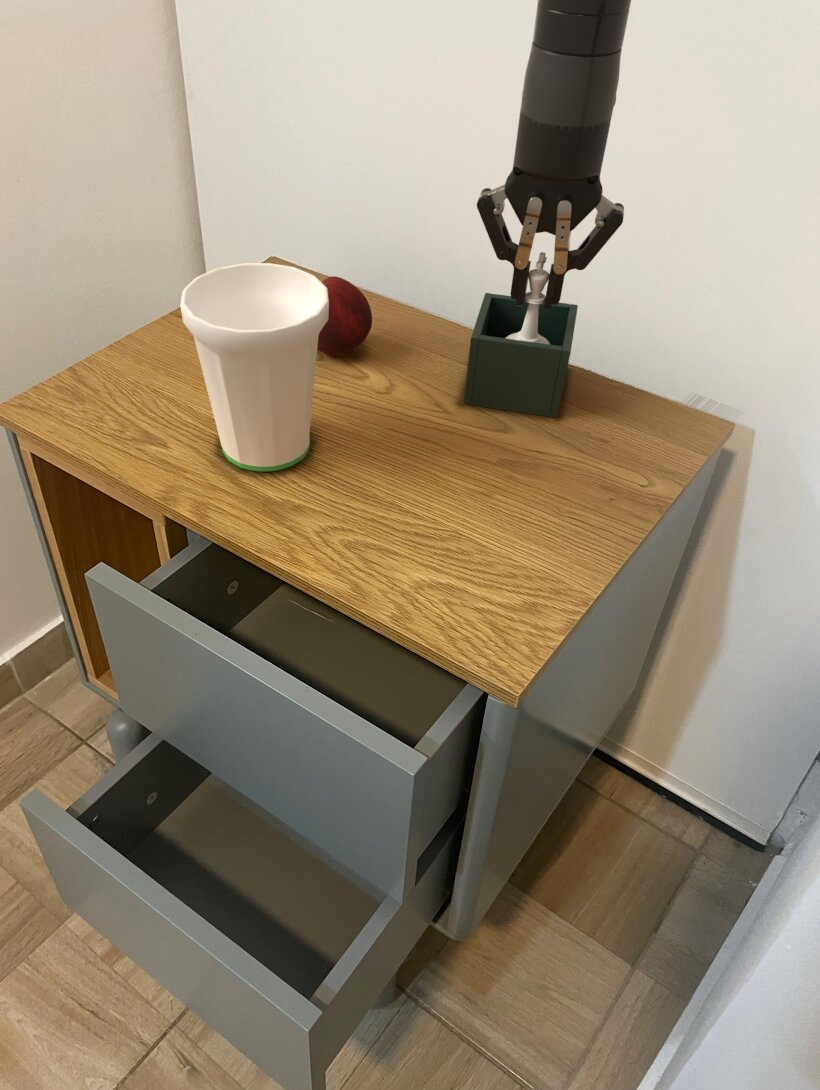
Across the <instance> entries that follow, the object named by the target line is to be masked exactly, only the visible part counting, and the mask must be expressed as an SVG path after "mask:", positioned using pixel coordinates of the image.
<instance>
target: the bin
mask: <svg viewBox="0 0 820 1090" xmlns="http://www.w3.org/2000/svg"><path fill="white" fill-rule="evenodd" d="M516 301H517V300H515V299H512V298H511V295H505V294H498V293H490V292H485V293H484V296H483V299H482V302H481V305H480V308H479V311H478V314H477V317H476V320H475V324H474V327H473V330H472V333H471V336H470V343H469V344H470V345H469V353H468V359H467V360H468V361H467V369H466V377H465V378H466V379H465V386H464V393H463V394H464V395H463V405H470V406H476V407H482V408H489V409H495V410H502V411H507V412H508V411H509V412H515V413H523V414H529V415H535V416H541V417H548V418H555V419H557V418H558V415H559V411H560V405H561V401H562V396H563V391H564V386H565V381H566V376H567V371H568V367H569V362H570V358H571V353H572V347H573V346H572V345H573V340H574V334H575V329H576V328H575V327H576V322H577V321H576V320H577V316H578V315H577V314H578V308H579V306H578V304H573V303H571V304H570V303H566V302H559V303H558V304H557V305H553V304H552V306H551V310H545V309H544V303H545V302H544V303H542V304H539V311H538V334H539V335H540V336H542V337H544V338H545V339H547V340H548V341H549V343H550V345H549V344H542V343H535V342H527V341H520V340H513V339H506V337H507V336H509V335H511V334H514V333H518V332H519V331H521V329H522V326H523V323H524V320H525V316H526V313H527V309H528V305H529V303H528V302H526V301H524V305H523V307H522V306H516Z"/></svg>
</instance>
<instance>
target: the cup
mask: <svg viewBox="0 0 820 1090" xmlns="http://www.w3.org/2000/svg"><path fill="white" fill-rule="evenodd" d="M179 305H180V306H179V307H180V310H181V312H180V313H181V319H182V323H183V324H184V326H185V327H186V328H187V330H188V331H189V332H190V333H191V335H192V336H193V340H194V343H195V344H194V345H195V348H196V353H197V355H198V359H199V363H200V368H201V372H202V377H203V379H204V383H205V387H206V390H207V394H208V398H209V403H210V407H211V410H212V415H213V418H214V422H215V427H216V430H217V434H218V438H219V441H220V445H221V451H222V453H223V454H224V456H225V457H226V459H227V460H228V461H229V462H230V463H232V464H233V465H234V466H236V467H238V468H241V469H244V470H248V471H253V472H278V471H281V470H284V469H287V468H290V467H292V466H294V465H296V464H298V463H299V462H301V461H302V460H303V459H304V458H305V457H306V456H307V454H308V452H309V450H310V443H311V442H310V440H311V439H310V438H311V436H310V431H311V430H310V429H311V419H312V408H313V397H314V387H315V376H316V366H317V357H318V356H317V355H318V349H317V346H318V335H319V333H320V331H321V330H322V328H323V327H324V325H325V324H326V322H327V321H328V313H329V299H328V289H327V288H326V287H325V286H324V285H323V284H322V281H321V280H319V278H317V277H316V276H315V275H313V274H311V273H309V272H307V271H305V270H302V269H300V268H297V267H295V266H290V265H284V264H277V263H272V262H246V263H245V262H244V263H243V262H241V263H237V264H232V265H231V264H230V265H227V266H222V267H217V268H214V269H212V270H210V271H207V272H205V273H203V274H201V275H199V276H196V277H195V278H194V279H192V280H191V281H190V283H189V284H187V286H185V288H184V289H183V290H182V292H181V299H180V304H179Z"/></svg>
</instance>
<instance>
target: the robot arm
mask: <svg viewBox="0 0 820 1090" xmlns="http://www.w3.org/2000/svg"><path fill="white" fill-rule="evenodd" d="M631 4H632V0H537V5H536V6H537V7H536V13H535V20H534V27H533V28H534V29H533V35H532V43H531V46H530V47H531V48H530V52H529V53H530V54H529V57H528V61H527V64H526V68H525V73H524V74H525V75H524V79H523V86H522V87H523V88H522V92H521V103H520V111H519V118H518V126H517V133H516V140H515V141H516V142H515V148H514V157H513V164H512V169H511V172H510V173H509V175H508V176H507V178H506V180H505V183H504V184H502V185H500V186H498V187H496V188H495V187H494V189H491V188H490V187H485V188H483V189H482V190H481V191H480V194H479V196H478V200H477V202H476V208H477V211H478V213H479V215H480V219H481V221H482V224H483V226H484V228H485V232H486V233H487V236H488V239H489V241H490V243H491V246H492V248H493V251H494V253H495V256H496V258H497V259H498V260H500V261H507V262H509V263H510V264H511V265H512V268H513V273H512V280H511V287H510V293H509V294H510V296H511V298H512V299H515V300H517V301H516V306H522V307H523V305H524V301H525V300H524V299H525V294H526V293H527V289H528V283H529V278H528V274H529V272H530V271H531V264H532V260H530V256H531V252H532V249H533V244H534V240H535V236H536V234H540V233H549V234H551V235H553V236H555V237H554V253H553V256H554V257H553V263H551V265H550V270H549V279H548V281H547V286H546V293H545V296H546V298H545V303H544V309H545V310H551V306H552V304H553V305H557V304H558V303H560V301H561V296H562V291H563V286H564V282H565V276H566V274H567V273H568V272H569V271H571V270H577V271H583V270H585V269H586V268H587V267H588V266H589V264H590V263H591V262H592V261H593V260H594V259H595V257H596V256H597V254H599V253H600V251H601V250H602V248H604V246H605V245H606V244H607V243H608V242H609V240H610V239H611V238H612V237H613V235H614V234H615V233H616V232H617V231H618V230H619V228H620V227H621V226H622V224H623V223H624V218H625V217H624V216H625V207H624V205H623V203H620V202H615V203H614V202H613V201H611V200H610V199H608V198H607V197H605V195H603V185H602V182H601V172H602V167H603V162H604V157H605V152H606V148H607V142H608V137H609V132H610V127H611V121H612V118H613V113H614V107H615V105H616V102H617V91H618V87H619V80H620V70H621V56H622V50H623V45H624V39H625V35H626V30H627V25H628V19H629V14H630V8H631ZM506 199H507V201H508V202H509V204H510V206H511V208H512V210H513V212H514V214H515V215H516V218H517V219H518V221H519V223H520V224H521V225H522V228H521V233H520V238H519V241H518V243H516V242H513V240H512V237H511V235H510V232H509V230H508V229H509V228H508V227H507V225H506V221H505V219H504V216H503V212H504V210H505V207H506V202H505V201H506ZM595 209H596V211H597V212H596V213H595V216H594V217H595V218H594V224H595V226H594V227H593V229H592V230H591V231H590V232H589V234H588V235H587V236H586V237H585V239H584V240H583V241H582V242H581V243H580V245H579V246H578V247H577V249H571V250H570V248H571V247H570V246H571V237H572V232H573V230H575V229H576V228H577V227H578V226H579V225H580V224H581V223H582V222H583V221H584V220H585V219H586V218H587V217H588V216H589V215H590V214H591V212H593V210H595Z"/></svg>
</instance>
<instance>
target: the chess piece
mask: <svg viewBox="0 0 820 1090" xmlns="http://www.w3.org/2000/svg"><path fill="white" fill-rule="evenodd" d="M538 255H539V256H538V259H537V261H536V263H535V268H534V269H530V271H529V274H528V283H529V289H530V291H528V292H526V294H525V299H524V300H525V301H526V302H528V303H529V305H528V309H527V313H526V316H525V320H524V323H523V326H522V329H521V331H519V332H518V333H514V334H511V335H509V336H507V337H506V339H513V340H520V341H527V342H535V343H542V344H549V345H550V343H549V341H548V340H547V339H545V338H544V337H542V336H540V335H539V334H538V311H539V304H542V303H544V302H545V298H546V294H544V293H543V291H544V290H545V286H546V284H548V280H549V274H550V272H548V271H547V270H546V269H544V266H545V264H546V263H547V260H548V259H547V258H548V257H547V256H546V252H543V251H541V252H539V254H538Z"/></svg>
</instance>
